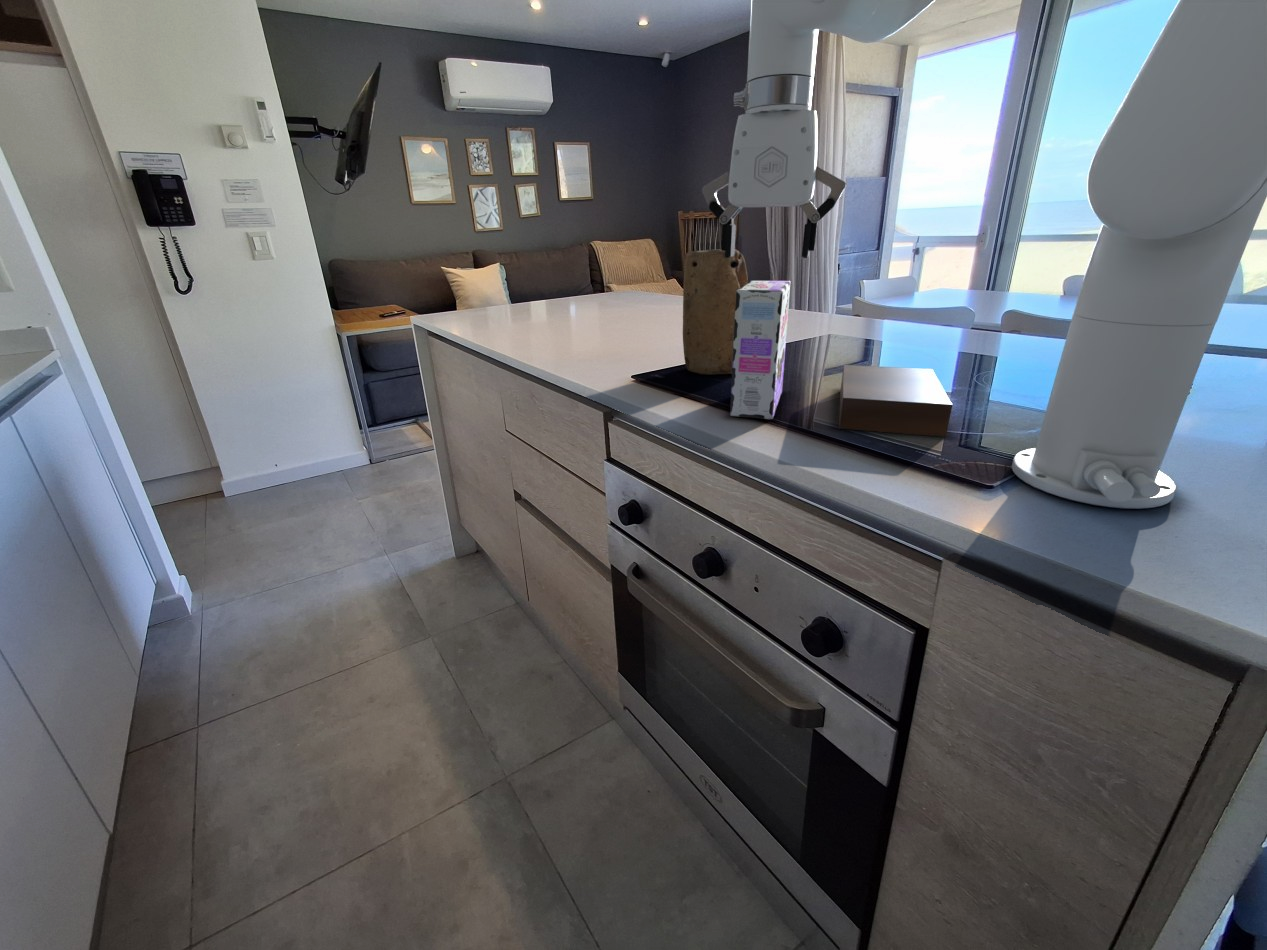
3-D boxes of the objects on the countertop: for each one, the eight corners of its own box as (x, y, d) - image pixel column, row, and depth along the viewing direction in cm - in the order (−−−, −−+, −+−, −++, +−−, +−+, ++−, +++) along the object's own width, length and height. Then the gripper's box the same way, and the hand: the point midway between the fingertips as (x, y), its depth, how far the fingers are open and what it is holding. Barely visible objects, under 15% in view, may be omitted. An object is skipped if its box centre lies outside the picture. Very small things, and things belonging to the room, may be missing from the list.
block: (679, 374, 98) (680, 250, 90) (689, 364, 105) (691, 248, 97) (742, 378, 95) (749, 249, 87) (748, 367, 102) (755, 247, 93)
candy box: (773, 421, 74) (783, 289, 68) (728, 417, 76) (734, 289, 70) (783, 392, 86) (792, 278, 80) (744, 390, 88) (750, 278, 81)
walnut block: (945, 437, 68) (952, 404, 66) (839, 428, 71) (843, 397, 70) (927, 395, 83) (932, 368, 81) (840, 390, 87) (843, 364, 85)
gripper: (698, 101, 66) (694, 259, 73) (857, 88, 61) (836, 259, 68) (711, 111, 72) (707, 255, 79) (856, 100, 67) (837, 255, 74)
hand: (766, 257), depth 74 cm, fingers open, 9 cm apart
